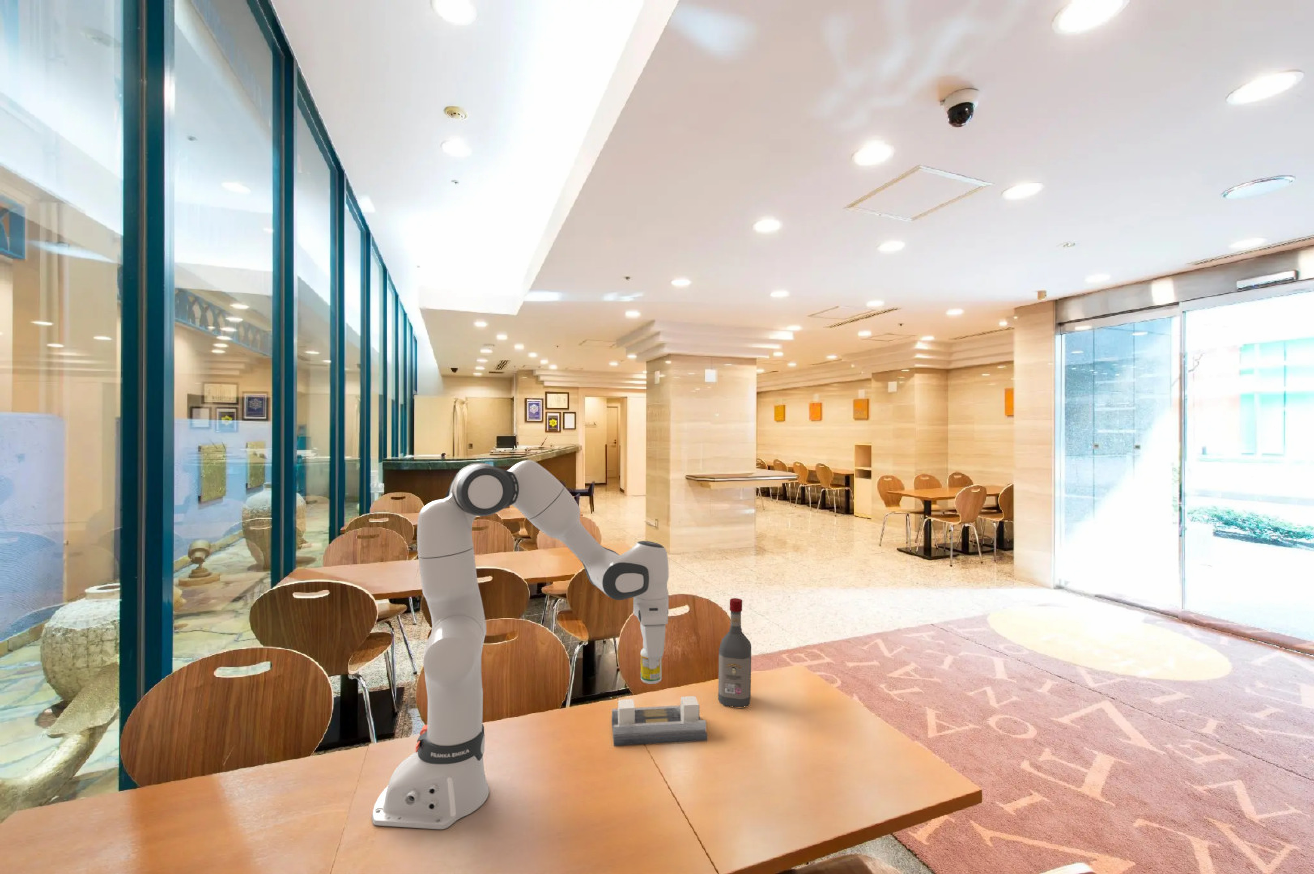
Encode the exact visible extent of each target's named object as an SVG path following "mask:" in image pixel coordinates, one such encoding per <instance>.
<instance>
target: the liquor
mask: <svg viewBox="0 0 1314 874" xmlns="http://www.w3.org/2000/svg"><path fill="white" fill-rule="evenodd" d="M729 611H730V622H729V624H730V627H729V631H728V632H727V633H726V634H725V635H724V636H723V637H722V639H721V641H720V645H719V648H718V681H717V683H718V685H717V686H718V687H717V688H718V689H717V690H718V693H717V698H718V699H717V700H718V702H719V704H721V705H722V704H723V707H727V706H733V707H732V708H734V707H744V706H748V707H749V705H750V703H751V691H752V690H751V689H752V685H751V684H752V683H751V682H752V643H751V640H749V639H748V637H747V636H746V635H745V633H744V632H743V631H742V611H743V599H741V598H737V597H731V598H730V599H729ZM744 708H745V707H744Z"/></svg>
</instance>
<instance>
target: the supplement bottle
mask: <svg viewBox="0 0 1314 874" xmlns="http://www.w3.org/2000/svg"><path fill="white" fill-rule="evenodd" d="M642 647H643V648H642V649H641V650H640V680H641V681H642V682H643V683H644V684H649V685H655V684H658V683H660V682H661V681H662V679H663V678H662V677H663V672H662V671H663V664H662V663H663V657H662V658H657V661H656V668H655V669H649V665H648V659H649V658H648V657H647V653H646V649H645V645H644V641H642Z"/></svg>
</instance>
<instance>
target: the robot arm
mask: <svg viewBox="0 0 1314 874" xmlns="http://www.w3.org/2000/svg"><path fill="white" fill-rule="evenodd" d="M510 506H512V507H515V508H516V509H517V510H518V511H519V512H520V513H521V514H522V515H523V516H524V517H525V518H526V519H527V520H528V521H529V522H530V523H531V524H532V525H533V526H534V527H535V528H536V529H538V530H539V531H541V532H542V533H543V534H544V535H546V536H547V537H549V538H552V539H555V540H558V541H560V542H561V543H562V544H564V545H565V546H566V547H567V548H568V549H569V551H570V552H572V554H574V556H575V557H576V558H577V559H578V560H579V561H580V562H581V563H582V565H583V567H584V570H585V574H586V577H587V579H588V580H589V582H590V584H591V585H592V586H594V587H596V588H597V589H599V590H600V591H601V592H603V594H605V595H606V596H607V597H609V598H610V599H612V600H615V601H623V600H627V599H631V598H632V600H633V603H632V606H633V607H632V608H633V609H632V612H633V613H632V614H633V615H634V616H636V618H637V619H638V622H640V625H639V626H640V631H641V636H642V640H643V641H644V645H645V649H646V653H647V657H648V658H649V659H648V665H649V669H655V668H656V661H657V658H662V659H663V656H664V652H665V643H666V642H665V641H666V625H668V624H669V611H670V609H669V607H670V606H669V603H670V602H669V601H670V600H669V599H670V597H669V595H670V594H669V588H668V582H669V578H670V577H669V574H670V572H669V558H668V552H667V550H666V548H665V546H663V545H662V544H660V543H657V542H654V541H648V540H640V541H637V542H636V543H635V544H634V545H633V546H632V547H631V548H630V549H628V550H627V551H625V552H624V553H622V554H619V553H617V551H614V550H613V549H610V548H607V547H604V546H603V545H601V544H600V543H599V542H598V541H597V540H596V539H595V538H594V537H593V536H592V534H591V533H590V532H589V531H588V530H587V529H586V527H584V525H583V524H582V522H581V520H580V517H581V508H580V506H579V504H578V503H577V500H576V499H575V498H574V496H573V495H572V494H571V493H570V491H569V490H568V489H567V487H565V486H564V485H563V484H562V483H561V482H560V480H559V479H557V478H556V477H555V475H553V474H552V473H551V472H550V471H548V470H547V469H546V468H545V467H543V466H542V465H541V464H539V463H538V462H536V461H535V460H531V459H526V460H522V461H519V462H517V463H515V464H513V465H512V466H511V467H510V468H509V469H507V470H506V469H503V468H500V467H496V466H493V465H492V464H489V463H484V462H475V463H470V464H468V465H467V464H466V465H465V466H463V467H461V468H460V469H459V470H458V471H457V472H456V473H455V475H454V476H453V479H452V480H451V483H450V485H449V488H448V490H447V492H446V493H445V497H444V498H441V499H440V498H439V499H436V500H432V501H431V502H428V503H427V504H426V505H424V506H422V508H421V509H420V511H419V513H418V516H417V528H416V535H417V536H416V544H417V545H416V547H417V557H418V558H417V559H418V564H419V573H420V574H419V575H420V582H421V583H420V584H421V589H422V590H421V591H422V592H421V593H422V595H423V597H424V598H425V601H426V604H427V607H428V611H429V614H430V618H431V625H432V627H431V633H430V635H429V637H428V639H427V640H426V642H425V645H424V649H423V653H422V656H423V657H422V658H423V660H422V662H423V663H422V664H423V670H424V671H423V672H424V681H425V687H426V694H427V719H426V720H427V722H426V723H427V724H424V725H423V727H422V728H421V730H420V732H419V736H418V738H417V740H416V744H415V751H414V752H413V753H412V754H410V756H408V757H406V758H405V759H404V760H403V761H401V762H400V763H399V764H398V766H396V768H395V770H394V771H393V772H392V775H391V776H390V779H389V781H388V784H387V786H386V787H385V788H384V789H383V790H382V792H381V793H380V794H379V796H378V797H377V798H376V802H375V803H374V806H373V810H372V813H371V821H372V824H373V825H374V826H381V827H382V826H383V827H398V828H401V827H402V828H415V829H416V828H417V829H428V830H429V829H430V830H445V829H447V828H449V827H451V826H452V825H453V824H455V822H457V820H459V819H461V818H464V817H466V816H468V815H471V814H472V813H474V812H475V811H476V810H478V809H479V808H480V807H481V806H482V805H484V803H485V802H486V800H487V799H488V797H489V794H490V790H489V789H490V787H489V785H488V782H487V779H486V778H487V777H486V773H485V772H486V771H485V766H484V753H485V745H486V744H485V742H486V738H485V737H486V735H485V725H484V723H483V712H484V711H483V707H484V706H483V704H484V702H483V701H484V689H483V678H482V653H483V648H484V642H485V637H486V635H487V622H486V616H485V610H484V605H483V600H482V596H481V591H480V588H479V587H480V586H479V582H478V575H477V573H478V572H477V566H476V559H475V558H476V557H475V556H476V555H475V550H474V549H475V548H474V542H473V533H472V532H473V523H474V521H475V519H476V517H487V516H488V517H489V516H492V515H495V514H496V513H499V512H501V511H502V510H504V509H506V508H507V507H510ZM643 641H642V642H643Z"/></svg>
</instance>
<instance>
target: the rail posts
mask: <svg viewBox="0 0 1314 874" xmlns="http://www.w3.org/2000/svg"><path fill="white" fill-rule="evenodd" d="M617 702H618V703H617V709H618V725H619V724H635V708H636V706H635V700H634V698H630V699H628V698H625V699H618V701H617ZM680 705H681V713H680V719H681V721H694V720H699V716H700V704H699V701H698V700H697V697H696V696H695V695H693V696H692V695H691V696H690V695H689V696H687V695H686V696H680Z"/></svg>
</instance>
